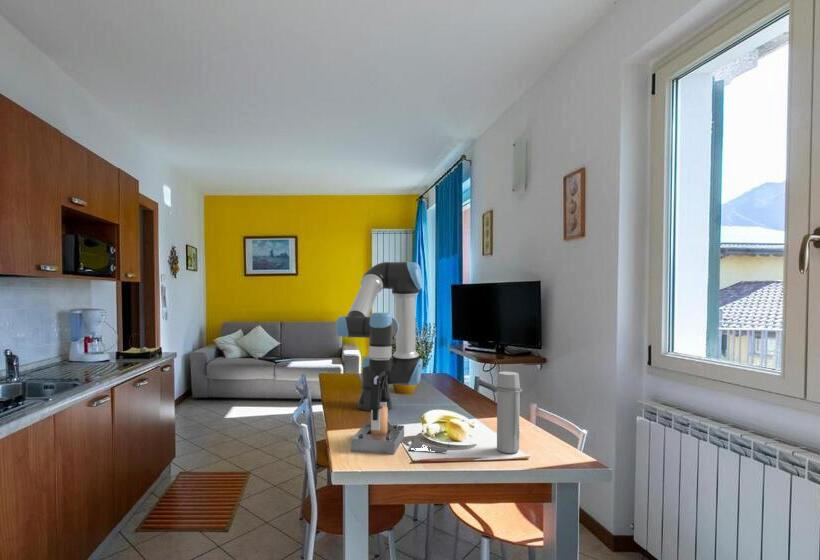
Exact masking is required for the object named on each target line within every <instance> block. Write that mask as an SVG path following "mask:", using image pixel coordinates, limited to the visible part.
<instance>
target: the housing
mask: <svg viewBox="0 0 820 560" xmlns="http://www.w3.org/2000/svg"><path fill="white" fill-rule="evenodd" d="M404 438H405V425H400V424H399V425H398V424H388V426H387V436H385V435H371V422H370V423H365V424H364V425H362V427H361V428H360V429H358V431H357V432H356V433H355V434H354V435H353V436H352V437H351V438H350V439H351V441H350V451H351V452H354V453H367V454H369V453H370V454H382V455H383V454H384V455H395V454H396V453H397V451H398V449H399V447H400V445H401V443H402V441H403V440H404Z"/></svg>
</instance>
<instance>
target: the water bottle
mask: <svg viewBox="0 0 820 560" xmlns="http://www.w3.org/2000/svg"><path fill="white" fill-rule="evenodd" d="M496 382H497V383H496V388H497V389H496V390H497V391H496V394H497V395H496V404H497V405H496V449H497V450H498V451H499V452H501V453H504V454H516V453H518V452H519V451H520V433H521V432H520V401H521V400H520V397H521V396H520V393H521V392H522V390H523V389H522V388H521V387H520V386H521V385H520V375H519V373H518V372H514V371H499V372H498V373H497V381H496Z"/></svg>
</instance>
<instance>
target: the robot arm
mask: <svg viewBox="0 0 820 560" xmlns="http://www.w3.org/2000/svg"><path fill="white" fill-rule="evenodd" d="M385 289H387V290H391V294H392V295H393V297H395V318H394V317H393V315H392V313H390V312H372V313H371V311H372V308H373V306H374V303H375V301H376V299H377V296H378V293H380V292H381V291H382V290H385ZM421 289H423V275H422V270H421V266H420V264H419V263H417V262H412V261H411V262H410V261H395V262H392V261H389V262H388V261H383V262H379V263H378V264H375V265H373V266H372V267H370V268H369V269H368V270H366V272H365V273H364V274H363V276H362V278H361V280H360V288H359V290H358V291H357V293H356V296H355V298H354V300H353V303H352V304H351V307H350V309H349V311H348V313H347V315H344V316H342V315H340V316H338V318H337V320H336V323H335V330H336V335H338V337H343V338H347V339H348V338H362V339H364V338H365V339H366V338H367V339H368V338H369V347H368V348H367V351H368V354H369V355H368V356H367V355H366V356H364V358H363V360H362V367H361V369H362V370H361V371H362V372H361V373H362V375H361V376H362V381H361V382H362V383H361V384H362V388H361V393H360V396H359V399H358V401H357V402H358V403H357V408H358V409H359V410H360V411H367V412H371V410H372V415H371V414H370V423H371V430H380V408H379V407H380V404H383V406H385V407H388V411H389V410H391V409H392V408H393V402H392V397H391V394H390V391H389V385H397V386H399V385H400V386H417V385H419V383H420V381H421V377H422V372H423V361H424V359H423V358H420V353H418V352H417V350H416V348H417V347H416V297H417V296H418V295H419V293H420V290H421ZM394 337H395V351H394V352H393V351H392V349H393V346H392V342H393V340H392V338H394ZM392 352H393V353H392Z"/></svg>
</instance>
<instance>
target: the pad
mask: <svg viewBox="0 0 820 560" xmlns="http://www.w3.org/2000/svg"><path fill="white" fill-rule="evenodd" d="M419 439H420V438H414V439H412V443H411V445H410V446H409V449H408V451H409V450H411V448H414V449H415V448H421V446H422V445H423V444H421V443H420V442H421V441H420V440H419ZM424 447H425V446H424ZM422 448H423V447H422ZM427 448H428V450H429V451H430V449H431V451H435V452H448V448H447V449H444V448H437V447H429V446H428V447H427ZM415 450H416V449H415Z"/></svg>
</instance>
